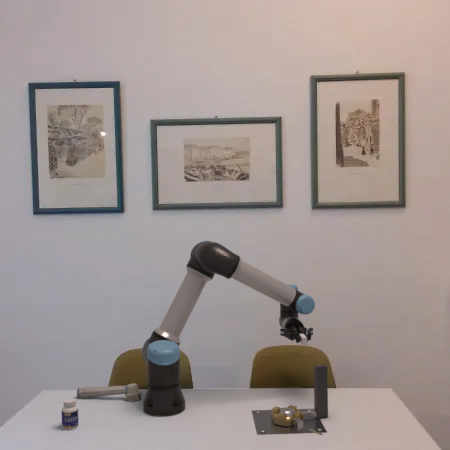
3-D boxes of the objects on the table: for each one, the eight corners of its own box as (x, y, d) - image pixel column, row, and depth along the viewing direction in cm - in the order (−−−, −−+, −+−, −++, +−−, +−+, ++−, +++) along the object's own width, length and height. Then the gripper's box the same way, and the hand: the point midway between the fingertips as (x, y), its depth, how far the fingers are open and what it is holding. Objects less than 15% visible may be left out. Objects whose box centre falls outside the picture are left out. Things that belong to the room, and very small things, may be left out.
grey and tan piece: (277, 427, 160) (276, 374, 159) (268, 415, 169) (267, 365, 169) (333, 421, 164) (332, 369, 163) (320, 410, 173) (320, 361, 173)
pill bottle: (63, 431, 162) (62, 404, 162) (60, 425, 167) (60, 399, 167) (80, 428, 165) (79, 401, 165) (76, 422, 170) (76, 396, 170)
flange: (257, 440, 153) (257, 425, 153) (251, 413, 175) (251, 400, 175) (328, 438, 154) (328, 423, 154) (313, 411, 176) (313, 398, 176)
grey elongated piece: (81, 385, 197) (141, 379, 193) (83, 402, 197) (144, 396, 193) (75, 389, 192) (136, 383, 188) (77, 407, 192) (139, 401, 188)
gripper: (309, 336, 199) (323, 351, 175) (277, 337, 198) (286, 352, 175) (309, 317, 199) (323, 330, 175) (276, 318, 198) (286, 331, 175)
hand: (304, 341), depth 175 cm, fingers closed
